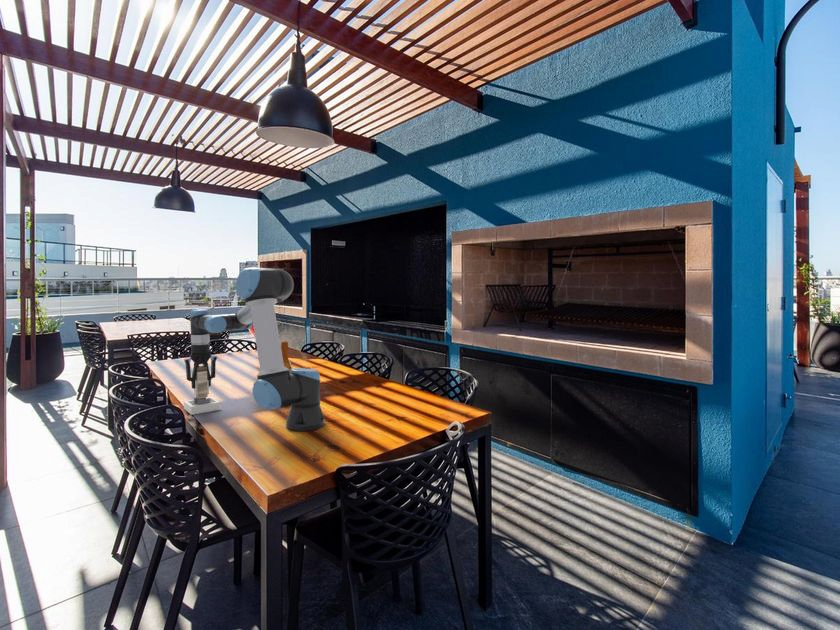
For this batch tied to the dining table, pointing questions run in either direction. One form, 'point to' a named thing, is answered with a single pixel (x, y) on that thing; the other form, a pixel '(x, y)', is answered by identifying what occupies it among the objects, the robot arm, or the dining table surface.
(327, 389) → the dining table surface
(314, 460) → the dining table surface
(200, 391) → the wood grain beam
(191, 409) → the white square frame
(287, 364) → the wine bottle
